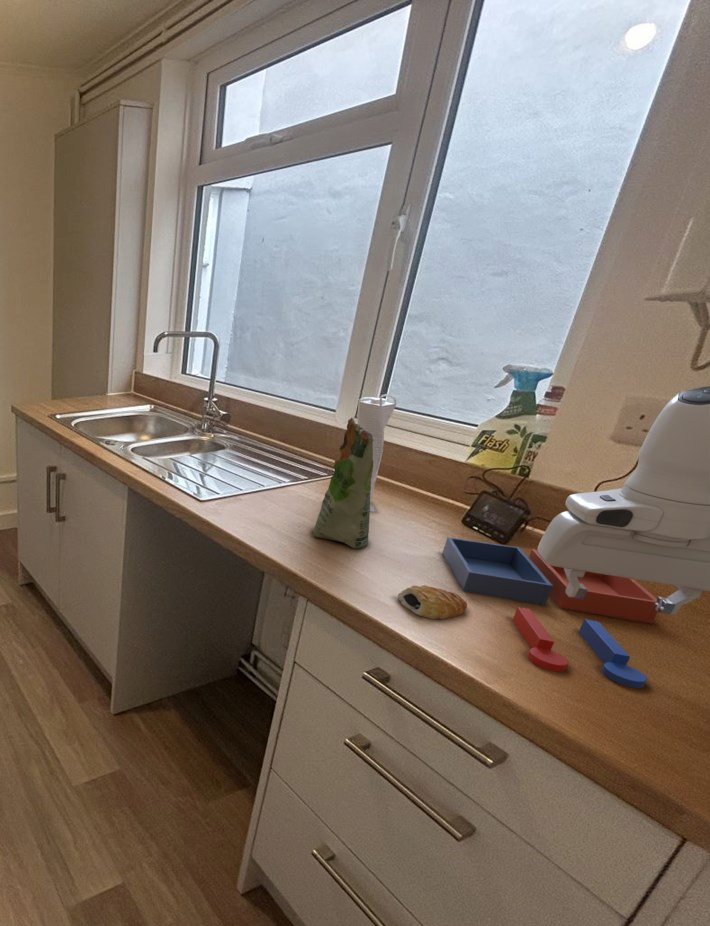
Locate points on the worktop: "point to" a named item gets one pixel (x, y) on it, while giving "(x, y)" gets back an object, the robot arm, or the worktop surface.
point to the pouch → (349, 491)
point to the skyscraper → (375, 428)
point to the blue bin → (496, 570)
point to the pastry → (432, 602)
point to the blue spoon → (611, 655)
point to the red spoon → (538, 641)
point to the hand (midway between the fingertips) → (617, 603)
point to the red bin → (600, 593)
